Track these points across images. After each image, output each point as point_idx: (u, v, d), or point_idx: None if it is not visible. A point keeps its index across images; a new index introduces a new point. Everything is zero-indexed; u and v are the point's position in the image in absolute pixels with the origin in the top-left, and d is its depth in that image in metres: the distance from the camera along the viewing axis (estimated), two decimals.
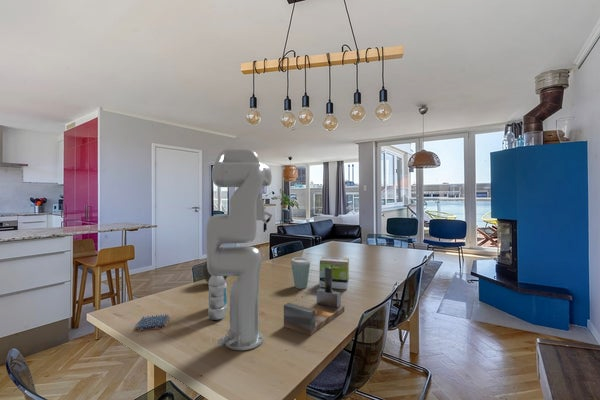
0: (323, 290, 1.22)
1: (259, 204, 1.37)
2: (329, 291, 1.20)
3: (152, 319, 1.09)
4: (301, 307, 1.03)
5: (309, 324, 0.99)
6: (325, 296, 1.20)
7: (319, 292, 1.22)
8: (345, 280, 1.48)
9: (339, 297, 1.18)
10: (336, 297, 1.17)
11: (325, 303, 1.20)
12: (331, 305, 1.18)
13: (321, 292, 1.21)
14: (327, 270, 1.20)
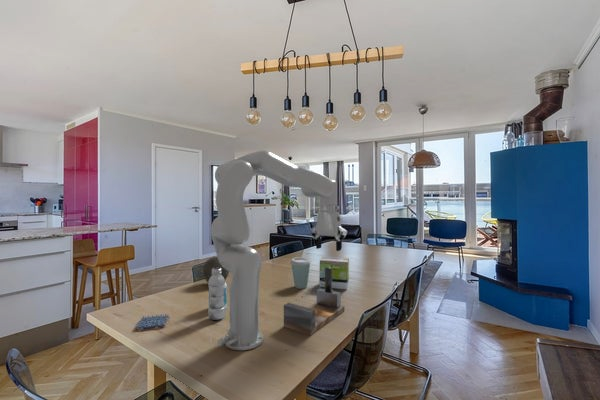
0: (323, 290, 1.22)
1: None
2: (329, 291, 1.20)
3: (152, 319, 1.09)
4: (301, 307, 1.03)
5: (309, 324, 0.99)
6: (325, 296, 1.20)
7: (319, 292, 1.22)
8: (345, 280, 1.48)
9: (339, 297, 1.18)
10: (336, 297, 1.17)
11: (325, 303, 1.20)
12: (331, 305, 1.18)
13: (321, 292, 1.21)
14: (327, 270, 1.20)
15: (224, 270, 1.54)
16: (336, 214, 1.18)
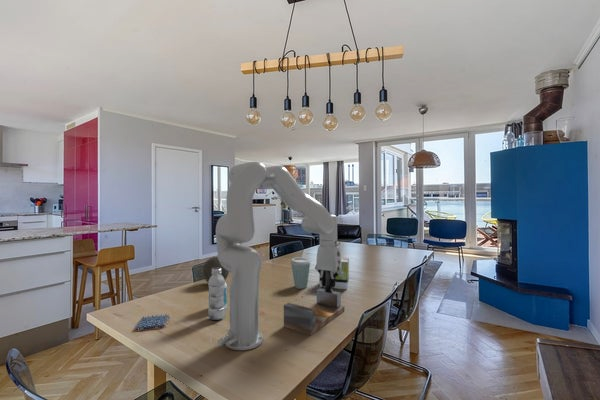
0: (323, 290, 1.22)
1: None
2: (329, 291, 1.20)
3: (152, 319, 1.09)
4: (301, 307, 1.03)
5: (309, 324, 0.99)
6: (325, 296, 1.20)
7: (319, 292, 1.22)
8: (345, 280, 1.48)
9: (339, 297, 1.18)
10: (336, 297, 1.17)
11: (325, 303, 1.20)
12: (331, 305, 1.18)
13: (321, 292, 1.21)
14: None
15: (224, 270, 1.54)
16: (336, 249, 1.18)
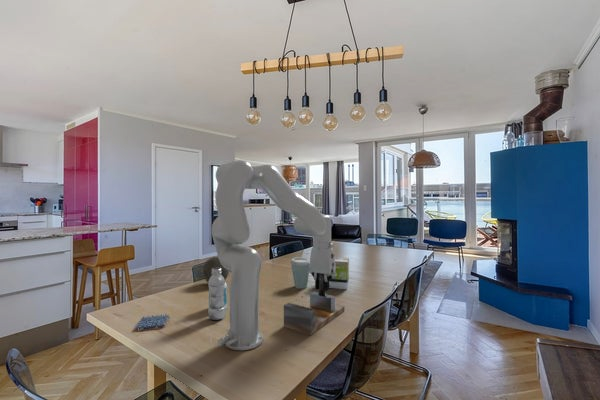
0: (317, 293, 1.18)
1: None
2: (323, 294, 1.15)
3: (152, 319, 1.09)
4: (301, 307, 1.03)
5: (309, 324, 0.99)
6: (319, 300, 1.16)
7: (312, 295, 1.18)
8: (345, 280, 1.48)
9: (333, 301, 1.14)
10: (330, 301, 1.13)
11: (319, 307, 1.16)
12: (325, 309, 1.14)
13: (314, 295, 1.17)
14: None
15: (224, 270, 1.54)
16: (330, 251, 1.13)
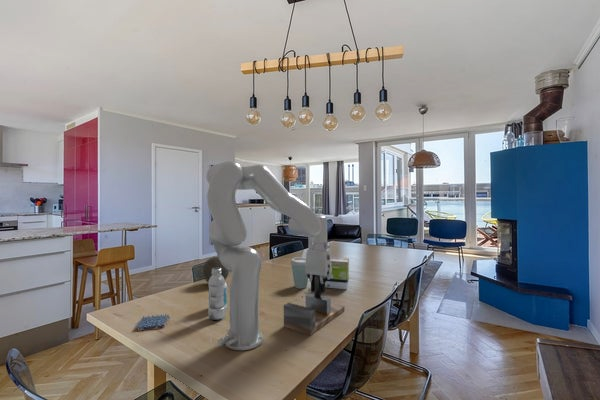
0: (312, 296, 1.15)
1: None
2: (318, 297, 1.13)
3: (152, 319, 1.09)
4: (301, 307, 1.03)
5: (309, 324, 0.99)
6: (315, 302, 1.13)
7: (308, 298, 1.15)
8: (345, 280, 1.48)
9: (329, 303, 1.12)
10: (326, 303, 1.10)
11: None
12: (320, 312, 1.12)
13: (310, 298, 1.14)
14: None
15: (224, 270, 1.54)
16: (326, 253, 1.11)
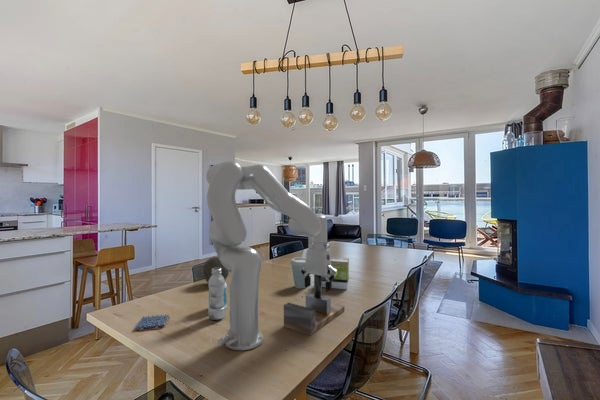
0: (312, 296, 1.15)
1: None
2: (318, 297, 1.13)
3: (152, 319, 1.09)
4: (301, 307, 1.03)
5: (309, 324, 0.99)
6: (315, 302, 1.13)
7: (308, 298, 1.15)
8: (345, 280, 1.48)
9: (329, 303, 1.12)
10: (326, 303, 1.10)
11: None
12: (320, 312, 1.12)
13: (310, 298, 1.14)
14: None
15: (224, 270, 1.54)
16: (326, 252, 1.11)
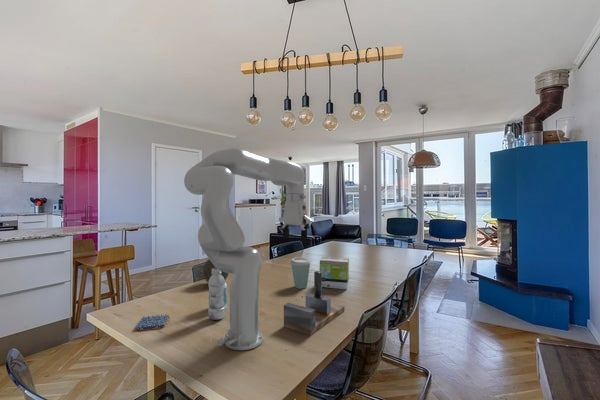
0: (312, 296, 1.15)
1: None
2: (318, 297, 1.13)
3: (152, 319, 1.09)
4: (301, 307, 1.03)
5: (309, 324, 0.99)
6: (315, 302, 1.13)
7: (308, 298, 1.15)
8: (345, 280, 1.48)
9: (329, 303, 1.12)
10: (326, 303, 1.10)
11: None
12: (320, 312, 1.12)
13: (310, 298, 1.14)
14: (316, 274, 1.13)
15: None
16: (301, 203, 1.17)
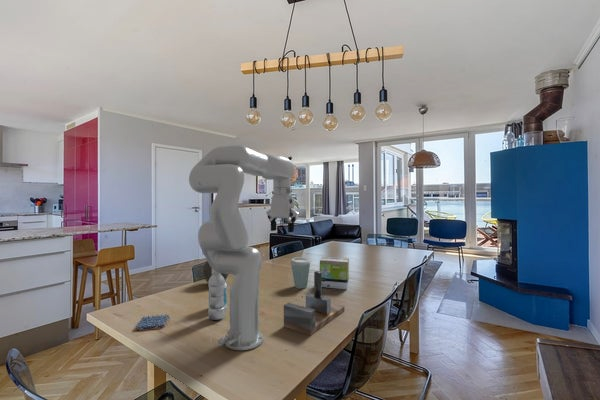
0: (312, 296, 1.15)
1: None
2: (318, 297, 1.13)
3: (152, 319, 1.09)
4: (301, 307, 1.03)
5: (309, 324, 0.99)
6: (315, 302, 1.13)
7: (308, 298, 1.15)
8: (345, 280, 1.48)
9: (329, 303, 1.12)
10: (326, 303, 1.10)
11: None
12: (320, 312, 1.12)
13: (310, 298, 1.14)
14: (316, 274, 1.13)
15: None
16: (288, 196, 1.21)
